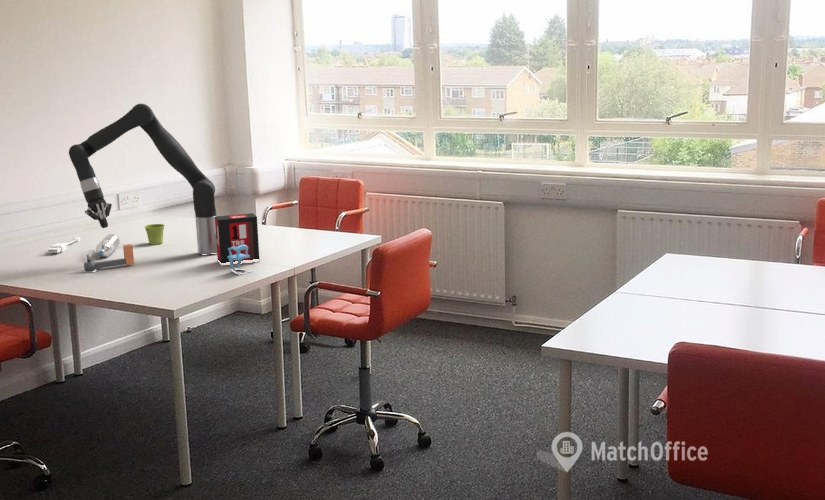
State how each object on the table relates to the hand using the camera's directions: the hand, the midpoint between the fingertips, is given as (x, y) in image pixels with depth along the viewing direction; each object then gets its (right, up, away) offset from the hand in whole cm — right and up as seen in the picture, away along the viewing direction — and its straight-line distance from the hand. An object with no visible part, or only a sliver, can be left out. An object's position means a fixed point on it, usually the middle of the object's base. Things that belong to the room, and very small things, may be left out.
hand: (105, 227), depth 389 cm
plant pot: (+11, -7, +40) cm, 42 cm away
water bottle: (-8, -5, +32) cm, 33 cm away
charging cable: (-31, -9, +35) cm, 48 cm away
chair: (+62, -19, -17) cm, 67 cm away
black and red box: (+58, -15, +1) cm, 60 cm away
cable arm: (+4, -17, -7) cm, 19 cm away
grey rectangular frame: (-2, -17, -4) cm, 18 cm away
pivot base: (-3, -19, -11) cm, 22 cm away
